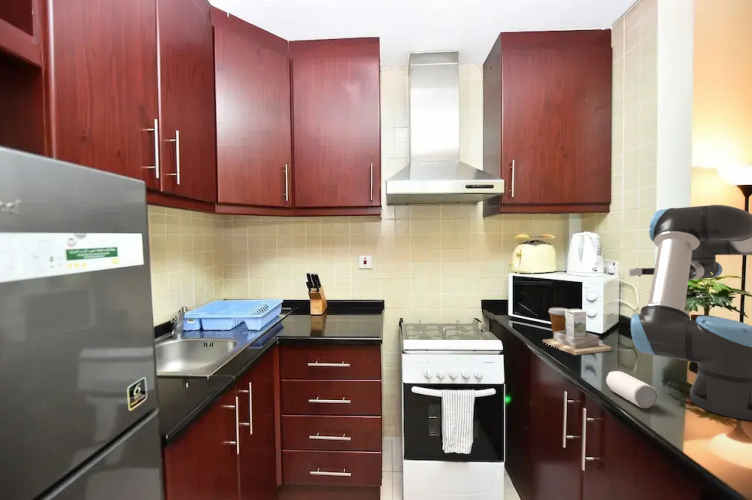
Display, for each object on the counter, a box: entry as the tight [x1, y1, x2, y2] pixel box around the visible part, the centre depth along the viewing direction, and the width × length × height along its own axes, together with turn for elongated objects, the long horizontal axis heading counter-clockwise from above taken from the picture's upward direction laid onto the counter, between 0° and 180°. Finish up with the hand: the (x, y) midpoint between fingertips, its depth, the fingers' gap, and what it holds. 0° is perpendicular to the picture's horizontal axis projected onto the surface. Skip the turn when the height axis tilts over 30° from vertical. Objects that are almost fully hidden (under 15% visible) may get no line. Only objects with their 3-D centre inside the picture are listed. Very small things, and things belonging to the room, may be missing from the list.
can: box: [605, 370, 658, 409], centre depth 97 cm, size 6×6×12 cm
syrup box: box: [565, 308, 587, 338], centre depth 145 cm, size 6×6×14 cm
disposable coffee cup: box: [548, 307, 567, 333], centre depth 167 cm, size 10×10×12 cm
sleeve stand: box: [542, 331, 612, 356], centre depth 145 cm, size 18×18×6 cm
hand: (645, 273), depth 132 cm, fingers open, 13 cm apart
